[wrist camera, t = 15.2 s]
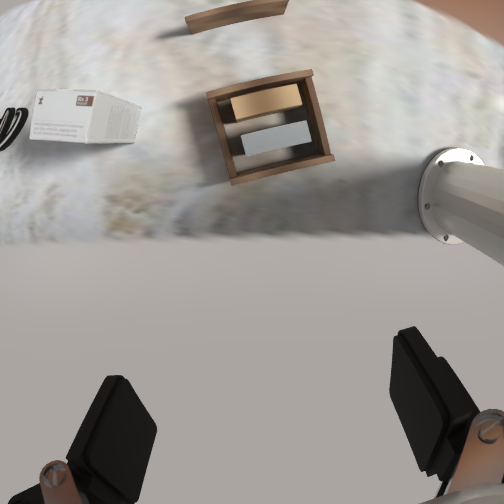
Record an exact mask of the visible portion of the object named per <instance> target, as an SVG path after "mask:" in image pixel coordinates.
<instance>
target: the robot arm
mask: <svg viewBox="0 0 504 504" xmlns="http://www.w3.org/2000/svg"><path fill="white" fill-rule="evenodd" d="M418 203H419V212H420V216H421V219H422V222H423V224H424V226H425V228H426V229H427V231H428V232H429V233H430V234H431V235H432V236H433V237H434V238H435V239H437V240H438V241H440V242H442V243H444V244H449V245H456V244H460V243H463V242H466V243H467V244H469V245H471V246H472V247H474V248H476V249H477V250H479V251H481V252H482V253H484V254H485V255H487V256H489V257H490V258H492V259H493V260H495V261H497V262H498V263H500V264H501V265H503V266H504V170H503V169H498V168H494V167H490V166H486V165H484V164H483V162H482V161H481V160H480V158H479V157H478V156H477V155H475V154H474V153H473V152H471V151H469V150H467V149H463V148H448V149H446V150H444V151H441V152H440V153H439V154H437V155H436V156H435V157H434V158H433V159H432V160H431V161H430V163H429V164H428V166H427V168H426V169H425V171H424V174H423V176H422V179H421V183H420V187H419V196H418ZM389 391H390V397H391V400H392V402H393V405H394V407H395V409H396V412H397V414H398V416H399V419H400V421H401V424H402V426H403V428H404V431H405V433H406V436H407V438H408V441H409V443H410V446H411V448H412V451H413V453H414V456H415V458H416V461H417V464H418V467H419V469H420V471H421V472H423V471H426V474H427V476H428V477H430V476H432V475H434V474H437V476H438V478H439V480H440V481H441V483H440V486H439V488H438V490H437V492H436V495H435V497H434V499H432V500H429V501H426V502H423V503H420V504H504V412H503V411H502V410H498V409H488V410H484V411H482V412H480V411H479V409H478V407H477V406H476V404H475V403H474V401H473V400H472V398H471V396H470V395H469V394H468V392H467V390H466V389H465V387H464V386H463V384H462V383H461V381H460V380H459V378H458V377H457V375H456V374H455V372H454V371H453V369H452V368H451V367H450V365H449V364H448V362H447V361H446V360H445V359H444V358H443V357H437V356H436V355H435V353H434V352H433V351H432V349H431V347H430V346H429V345H428V343H427V342H426V340H425V339H424V338H423V336H422V335H421V333H420V332H419V330H418V329H417V328H416V327H415V326H413V327H410V328H406V329H403V330H400V331H399V332H398V335H397V336H394V339H393V354H392V368H391V379H390V389H389ZM156 433H157V426H156V424H155V422H154V420H153V419H152V418H151V416H150V414H149V413H148V411H147V410H146V408H145V407H144V405H143V404H142V402H141V401H140V399H139V397H138V396H137V394H136V392H135V391H134V389H133V388H132V386H131V384H130V382H129V381H128V380H127V379H125V378H124V377H123V376H122V375H114V376H112V375H111V376H107V377H106V378H105V379H104V381H103V383H102V385H101V387H100V389H99V391H98V393H97V395H96V397H95V399H94V401H93V403H92V404H91V406H90V408H89V410H88V412H87V415H86V416H85V418H84V420H83V422H82V424H81V426H80V429H79V431H78V433H77V435H76V437H75V439H74V441H73V443H72V445H71V447H70V449H69V452H68V454H67V456H66V459H67V460H68V463H67V464H66V463H65V462H63V461H60V460H56V461H52V462H50V463H48V464H46V466H45V467H44V468H43V469H42V471H41V473H40V477H39V478H40V483H39V484H37V485H35V486H33V487H31V488H29V489H27V490H25V491H23V492H21V493H19V494H17V495H15V496H13V497H12V498H11V499H10V500H9V502H8V504H134V503H135V502H137V501H138V499H139V496H140V492H141V488H142V484H143V480H144V477H145V473H146V469H147V465H148V462H149V458H150V455H151V451H152V447H153V444H154V440H155V436H156Z"/></svg>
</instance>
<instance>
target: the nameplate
mask: <svg viewBox="0 0 504 504" xmlns="http://www.w3.org/2000/svg"><path fill="white" fill-rule="evenodd" d="M14 115H18V116H17V119H16V121H15V123H14V124H13V126H12V127H11V129H10V130H9V128H10V125H11V123H12V120H13V118H14ZM27 117H28V109H27V108H18V109H17V110H16V114H15V108H7V109H6V111H5V112H4V114H3V117H2V119H0V151H3V150H5V149H6V148H7V147H8V146H9V145H10V144H11V143H12V142H13V141H14V139H15V138H16V137H17V136H18V134H19V133H20V131H21V129H22V128H23V126H24V124H25V122H26V120H27ZM8 130H9V132H8ZM7 132H8V133H7ZM6 134H7V135H6Z"/></svg>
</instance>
